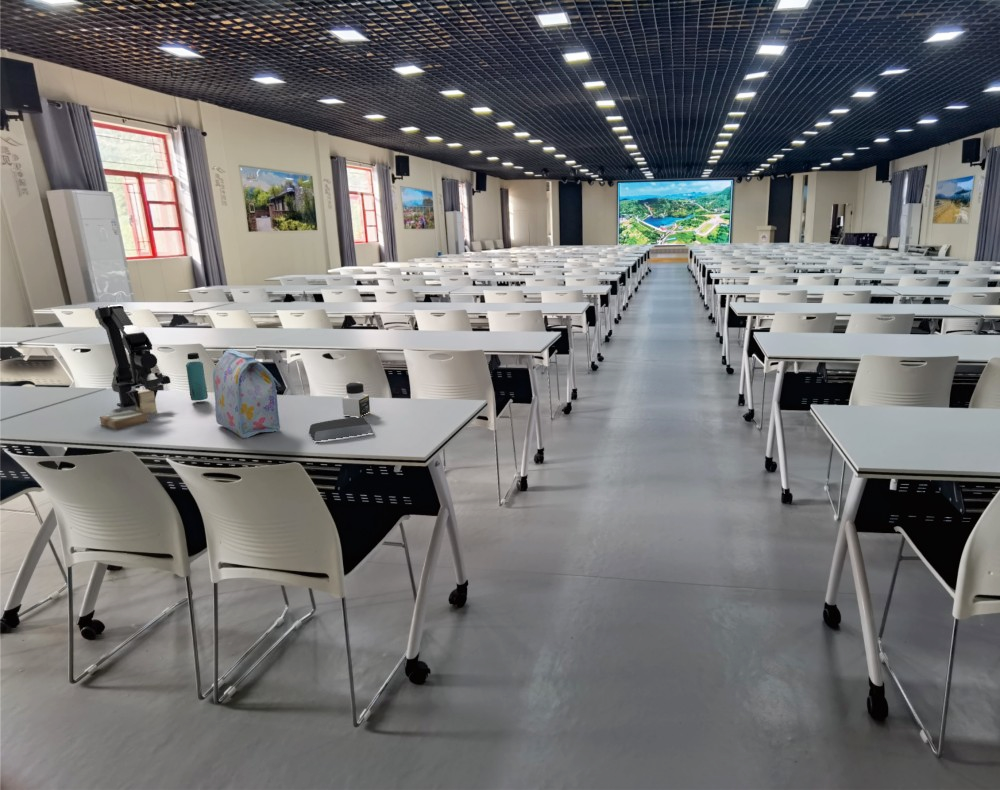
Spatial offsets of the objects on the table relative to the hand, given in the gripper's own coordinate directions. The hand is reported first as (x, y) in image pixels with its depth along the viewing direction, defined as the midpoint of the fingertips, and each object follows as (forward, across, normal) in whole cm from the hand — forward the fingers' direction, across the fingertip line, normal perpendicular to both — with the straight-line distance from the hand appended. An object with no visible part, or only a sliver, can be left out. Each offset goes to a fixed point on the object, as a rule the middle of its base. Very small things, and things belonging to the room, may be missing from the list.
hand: (145, 405), depth 247 cm
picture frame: (+2, -12, -8) cm, 15 cm away
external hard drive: (+3, +22, -84) cm, 87 cm away
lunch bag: (+3, +9, -53) cm, 54 cm away
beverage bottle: (+3, +19, -4) cm, 20 cm away
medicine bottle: (+3, +40, -72) cm, 82 cm away
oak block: (+2, 0, 0) cm, 2 cm away
